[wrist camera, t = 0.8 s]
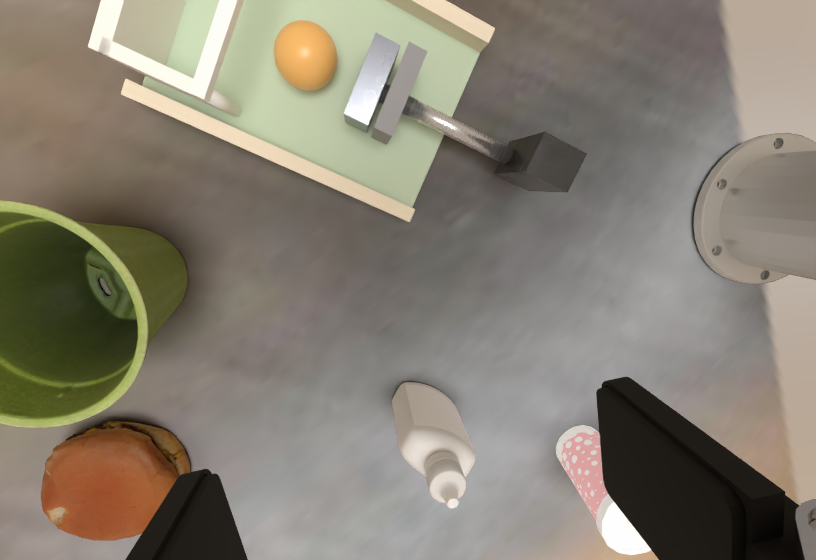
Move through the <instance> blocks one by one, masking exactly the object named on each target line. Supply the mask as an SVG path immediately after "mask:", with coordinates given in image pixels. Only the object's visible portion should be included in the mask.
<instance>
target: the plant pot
mask: <svg viewBox="0 0 816 560" xmlns="http://www.w3.org/2000/svg"><path fill="white" fill-rule="evenodd" d="M89 263H90V264H93V265H94V266H97V267H99V268H101V269H99V268H95V267H93V266H90V265H89ZM99 278H103V279H104V280H105V282H106V285H107V287H108V288H109V290H110V292H111V296H107V295H106V294H105V293H104V292H103V290H102V289H101V287H100V285H99V282H98V279H99ZM187 285H188V275H187V270H186V265H185V263H184V260H183V258H182V256H181V255H180V253H179V252H178V250H177V249H176V248H175V247H174V246H173V245H172V244H171V243H170V242H169V241H168V240H166V239H165V238H163V237H162V236H160V235H158V234H156V233H153V232H151V231H148V230H145V229H141V228H135V227H125V226H116V225H104V224H94V223H85V222H79V221H76V220H72V219H70V218H68V217H66V216H64V215H62V214H59V213H57V212H55V211H52V210H49V209H46V208H43V207H39V206H35V205H31V204H27V203H21V202H13V201H2V200H0V423H2V424H6V425H11V426H17V427H32V428H40V427H57V426H62V425H68V424H72V423H75V422H78V421H82V420H84V419H87V418H89V417H92V416H94V415H96V414H98V413H100V412H102V411H103V410H105V409H106V408H108V407H109V406H111V405H112V404H113V403H115V402H116V401H117V400H118V399H119V398H121V397H122V395H123V394H124V393H125V392H126V391H127V390H128V389H129V388H130V386H131V385H132V383H133V382H134V380H135V379H136V377H137V375H138V373H139V371H140V369H141V367H142V365H143V362H144V359H145V356H146V352H147V347H148V344H149V342H150V340H151V339H152V338H153V337H154V335H155V334H156V333H157V332H158V330H159V329H160V328H161V327H162V326H163V324H164V323H165V322H166V321H167V319H168V318H169V317H170V316H171V315H172V313H173V312H174V311H175V310H176V308H177V307H178V306H179V305H180V303H181V302H182V300H183V298H184V295H185V292H186V289H187ZM131 312H132V313H131ZM130 313H131V314H130Z"/></svg>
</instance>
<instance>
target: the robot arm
mask: <svg viewBox="0 0 816 560" xmlns="http://www.w3.org/2000/svg"><path fill="white" fill-rule="evenodd" d="M694 234H695V241H696V244H697V247H698V250H699V252H700V254H701V256H702V257H703V259H704V261H705V262H706V263H707V264H708V265H709V267H710V268H711V269H712V270H713V271H715V272H716V273H718V274H719V275H721V276H722V277H725V278H728V279H730V280H733V281H737V282H742V283H746V284H763V283H768V282H773V281H776V280H778V279H780V278H783V277H785V276H787V275H789V274H791V275H795V276H800V277H805V278H810V279H815V280H816V143H815V142H814V141H812V140H810V139H808V138H806V137H804V136H801V135H796V134H791V133H779V134H770V135H764V136H759V137H756V138H753V139H750V140H748V141H745V142H744V143H742V144H740V145H739V146H737V147H735V148H734V149H732V150H731V151H730V152H729V153H728V154H726V155H725V156H724V157H723V158H722V159H721V160H720V161H719V162H718V163H717V165H716V166H715V167H714V168H713V169H712V171H711V172H710V174H709V176H708V177H707V179H706V180H705V182H704V184H703V186H702V189H701V191H700V194H699V196H698V199H697V203H696V207H695V212H694ZM597 408H598V421H599V434H600V447H601V460H602V473H603V482H604V486H605V488H606V491H607V492H608V494H609V496H610V497H611V499H612V500H613V501H614V502H615V504H616V505H617V506H618V508H619V509H620V510H621V511H622V513H623V514H624V515H625V517H626V518H627V519H628V520H629V522H630V523H631V524H632V525H633V527H634V528H635V529H636V531H637V532H638V533H639V534H640V536H641V537H642V538H643V540H644V541H645V542H646V543H647V545H648V546H649V547H650V549H651V550H652V551H653V552H654V554H655V555H656V556H657V558H658V559H659V560H816V499H812V500H809V501H806V502H804V503H801V505H800V506H799V505H798V504H796V503H795V502H794V501H792V500H791V499H790V498H788V497H787V496H786V495H785V491H783V490H782V489H781V488H779V487H778V486H777V485H775V484H774V483H773V482H771V481H770V480H768V479H767V478H766V477H764V476H763V475H762V474H760V473H759V472H758V471H756V470H755V469H753V468H752V467H751V466H749V465H748V464H747V463H745V462H744V461H743V460H741V459H740V458H738V457H737V456H736V455H734V454H733V453H732V452H730V451H729V450H728V449H726V448H725V447H723V446H722V445H721V444H719V443H718V442H717V441H715V440H714V439H713V438H711V437H710V436H708V435H707V434H706V433H704V432H703V431H702V430H700V429H699V428H698V427H696V426H695V425H694V424H692V423H691V422H689V421H688V420H687V419H685V418H684V417H683V416H681V415H680V414H679V413H677V412H676V411H674V410H673V409H672V408H670V407H669V406H668V405H666V404H665V403H664V402H662V401H661V400H659V399H658V398H657V397H655V396H654V395H653V394H651V393H650V392H649V391H647V390H646V389H644V388H643V387H642V386H640V385H639V384H638V383H636V382H635V381H634V380H632V379H631V378H629V377H622V378H618V379H613V380H608V381H604V382H603V384H602V388H600V389H598V390H597ZM126 560H248V559H247V556H246V553H245V551H244V548H243V545H242V542H241V539H240V536H239V533H238V530H237V527H236V524H235V521H234V518H233V515H232V512H231V510H230V507H229V504H228V501H227V498H226V495H225V492H224V489H223V486H222V483H221V480H220V478H219V476H218V475H217V474H212V473H211V472H210V471H209V470H208V469H203V470H199V471H194V472H190V473H185V474H182V475H180V476H179V477H178V478H177V480H176V481H175V483H174V485H173V486H172V488H171V489H170V491H169V492H168V494H167V495H166V497H165V499H164V500H163V502H162V503H161V505H160V506H159V508H158V510H157V511H156V513H155V514H154V516H153V517H152V519H151V521H150V522H149V524H148V525H147V527H146V528H145V530H144V532H143V533H142V535H141V536H140V538H139V539H138V541H137V542H136V544H135V546H134V547H133V549H132V550H131V552H130V553H129V555H128V557H127V558H126Z"/></svg>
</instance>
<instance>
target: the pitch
mask: <svg viewBox="0 0 816 560" xmlns="http://www.w3.org/2000/svg"><path fill="white" fill-rule="evenodd" d="M297 20H307V21H311V22H314V23H316V24H318V25H320V26H321V27H322V28H324V29H325V30H326V31H327V32H328V34H329V35H330V36H331V38H332V40H333V42H334V44H335V47H336V50H337V57H338V61H337V69H336V72H335V74H334V76H333V78H332V79H331V80H330V82H329V83H328V84H327V85H325V86H324V87H322V88H320V89H317V90H312V91H307V90H301V89H298V88H296V87H294V86H292V85H291V84H289V83H288V82H287V81H286V80H285V79H284V78H283V77H282V75H281V74H280V72H279V71H278V68H277V66H276V63H275V60H274V43H275V40H276V37H277V35H278V33H279V32H280V31H281V29H282V28H283V27H284V26H286V25H287V24H289V23H291V22H293V21H297ZM494 30H495V28H494V27H492V26H490V25H488V24H487V23H485V22H483V21H481V20H480V19H478V18H476V17H474V16H472V15H471V14H469V13H467V12H465V11H464V10H462V9H460V8H458V7H457V6H455V5H453V4H451V3H450V2H448V1H446V0H101V3H100V6H99V10H98V13H97V17H96V20H95V24H94V27H93V31H92V34H91V38H90V41H89V45H88V47H89V48H91V49H93V50H95V51H97V52H99V53H101V54H103V55H105V56H107V57H109V58H111V59H113V60H115V61H117V62H119V63H121V64H123V65H125V66H127V67H129V68H131V69H133V70H135V71H137V72H139V73H141V74H143V75H145V77H144V81H143V84H142V86H141V85H139V84H136V83H134V82H132V81H130V80H128V79H125V82H124V85H123V88H122V92H121V94H122V95H124V96H126V97H128V98H131V99H133V100H135V101H137V102H140V103H142V104H144V105H146V106H149V107H151V108H153V109H155V110H158V111H160V112H162V113H164V114H167V115H169V116H171V117H173V118H176V119H178V120H180V121H182V122H185V123H187V124H189V125H191V126H194V127H196V128H198V129H200V130H203V131H205V132H207V133H210V134H212V135H214V136H216V137H219V138H221V139H223V140H225V141H228V142H230V143H232V144H234V145H237V146H239V147H241V148H243V149H246V150H248V151H250V152H252V153H255V154H257V155H259V156H261V157H264V158H266V159H268V160H270V161H273V162H275V163H277V164H279V165H282V166H284V167H286V168H288V169H291V170H293V171H295V172H297V173H300V174H302V175H304V176H306V177H309V178H311V179H313V180H315V181H318V182H320V183H322V184H324V185H327V186H329V187H331V188H333V189H336V190H338V191H340V192H343V193H345V194H347V195H349V196H352V197H354V198H356V199H358V200H361V201H363V202H365V203H367V204H370V205H372V206H374V207H376V208H379V209H381V210H383V211H385V212H388V213H390V214H392V215H394V216H397V217H399V218H401V219H403V220H406V221H408V222H410V220H411V218H412V216H413V214H414V211H415V209H413V208H412V207H413V204H414V202H415V200H416V198H417V195H418V193H419V191H420V188H421V186H422V184H423V182H424V179H425V177H426V175H427V173H428V170H429V168H430V166H431V163H432V161H433V159H434V157H435V154H436V152H437V150H438V147H439V145H440V143H441V141H442V138H443V136H444V134H442V133H440V132H438V131H436V130H434V129H432V128H430V127H428V126H426V125H424V124H422V123H420V122H418V121H416V120H414V119H412V118H410V117H408V116H406V115H404V114H402V111H403V109H404V107H405V104H406V102H407V99H408V97H409V96H411V97H413V98H415V99H417V100H419V101H421V102H423V103H425V104H427V105H429V106H431V107H433V108H435V109H436V110H438V111H440V112H442V113H444V114H446V115H448V116H450V117H452V116H453V113H454V111H455V109H456V107H457V104H458V102H459V100H460V97H461V95H462V93H463V91H464V88H465V86H466V84H467V82H468V79H469V77H470V75H471V72H472V70H473V68H474V66H475V63H476V61H477V59H478V56H479V54H480V52H481V51H482V50H483V49H484V48H485V47H486V46H487V45H488V43H489V41H490V39H491V37H492V35H493V32H494ZM375 33H378V34H380V35H382V36H384V37H386V38H388V39H389V40H391V41H393V42H395V43H397V44H399V45H400V48H399V52H398V55H397V59H396V62H395V65H394V68H393V70H392V73H391V75H390V77H389V80H388V82H387V85H389V86H391V87H390V89H389V91H388V94H387V96H386V99H385V101H384V104H382V103H380V102H379V104H378V107H377V109H376V112H375V114H374V117H373V119H372V122H371V124H370V126H369V129H368V131H367V133H366V132H364V131H362V130H360V129H357V128H355V127H353V126H351V125H349V124H347V123H346V121H345V117H344V112H345V109H346V107H347V104H348V101H349V99H350V96H351V94H352V91H353V89H354V86H355V84H356V81H357V79H358V76H359V74H360V71H361V69H362V66H363V64H364V61H365V58H366V56H367V53H368V51H369V48H370V46H371V43H372V41H373V38H374V36H375Z"/></svg>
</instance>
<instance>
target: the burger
mask: <svg viewBox="0 0 816 560" xmlns="http://www.w3.org/2000/svg"><path fill="white" fill-rule="evenodd" d="M45 467H46V469H45V473H44V476H43V483H42V491H41V502H42V508H43V511H44V513H45V514H46V515H48V518H49V520H50V521H51V522H52V523H53V524H55V525H56V526H57V527H58V528H59V529H61V530H63V531H65V532H67V533H70V534H73V535H76V536H79V537H81V538H86V539H91V540H117V539H122V538H128V537H133V536H136V535H139V534H141V533H143V532H144V530H145V528H146V527H147V525H148V524H149V522H150V521H151V519H152V517H153V516H154V514H155V513H156V511H157V510H158V508H159V506H160V505H161V503H162V502H163V500H164V499H165V497H166V495H167V494H168V492H169V491H170V489H171V488H172V486H173V485H174V483H175V481H176V480H177V478H178V477H179V476H180V475H182V474H185V473H190V462H189V459H188V456H187V454H186V452H185V450H184V448H183V446H182V445H181V444H180V441H178V440H177V438H176V437H175V436H174V435H173V434H172V433H171V432H169V431H167V430H164V429H162V428H158V427H153V426H150V425H144V424H140V423H132V422H116V421H106V422H103V423H101V424H99V425H97V426H95V427H93V428H90V429H87V430H86V431H84V432H82V433H79V434H74V435H73V436H71V437H69V438H67V439H66V441H65V442H63V443H61V444H60V445H58V446H56V447H55V448H54V449H53V454H52V455H51V456H50V457H49V458H48V459H47V461H46V463H45Z"/></svg>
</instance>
